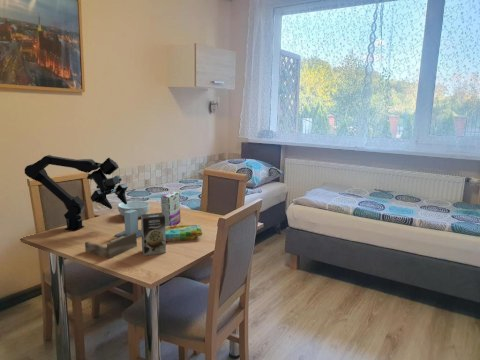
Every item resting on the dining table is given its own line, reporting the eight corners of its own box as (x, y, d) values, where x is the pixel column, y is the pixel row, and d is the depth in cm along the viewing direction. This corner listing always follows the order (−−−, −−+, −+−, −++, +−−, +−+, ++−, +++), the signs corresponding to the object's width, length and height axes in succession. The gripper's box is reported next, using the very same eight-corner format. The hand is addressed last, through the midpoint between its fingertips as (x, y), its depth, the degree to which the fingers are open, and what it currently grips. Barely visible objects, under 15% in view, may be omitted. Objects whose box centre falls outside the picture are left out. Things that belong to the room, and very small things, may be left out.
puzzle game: (157, 225, 170) (199, 222, 175) (157, 234, 171) (199, 231, 176) (157, 233, 159) (202, 230, 163) (157, 243, 160) (202, 240, 164)
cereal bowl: (145, 221, 190) (144, 208, 188) (114, 220, 190) (113, 208, 188) (153, 212, 206) (152, 200, 205) (124, 211, 206) (124, 199, 205)
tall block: (125, 234, 168) (124, 212, 166) (132, 231, 173) (131, 209, 170) (130, 235, 167) (129, 213, 164) (138, 232, 171) (137, 210, 169)
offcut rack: (85, 251, 149) (84, 238, 148) (113, 240, 162) (112, 227, 161) (109, 258, 143) (108, 244, 142) (136, 246, 156) (136, 233, 155)
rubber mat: (114, 236, 168) (114, 234, 167) (131, 229, 177) (131, 228, 177) (132, 240, 163) (132, 239, 162) (148, 233, 172) (148, 231, 172)
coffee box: (144, 256, 146) (142, 218, 142) (141, 250, 152) (140, 214, 148) (166, 252, 149) (165, 216, 146) (163, 247, 155) (162, 211, 152)
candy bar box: (172, 220, 191) (171, 191, 188) (180, 222, 189) (180, 192, 186) (161, 227, 180) (160, 196, 177) (170, 228, 179) (169, 197, 176)
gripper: (93, 173, 161) (111, 200, 158) (124, 167, 177) (141, 192, 175) (82, 188, 167) (100, 214, 164) (113, 181, 183) (130, 205, 180)
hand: (119, 206), depth 170 cm, fingers open, 9 cm apart
